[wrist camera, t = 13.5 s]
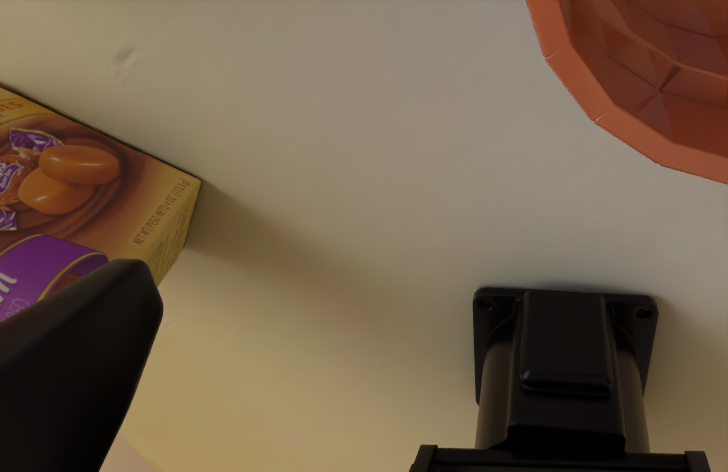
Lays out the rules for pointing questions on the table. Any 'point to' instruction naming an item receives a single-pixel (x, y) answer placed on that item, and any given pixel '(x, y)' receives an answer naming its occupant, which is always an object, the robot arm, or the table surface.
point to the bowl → (646, 73)
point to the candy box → (79, 204)
